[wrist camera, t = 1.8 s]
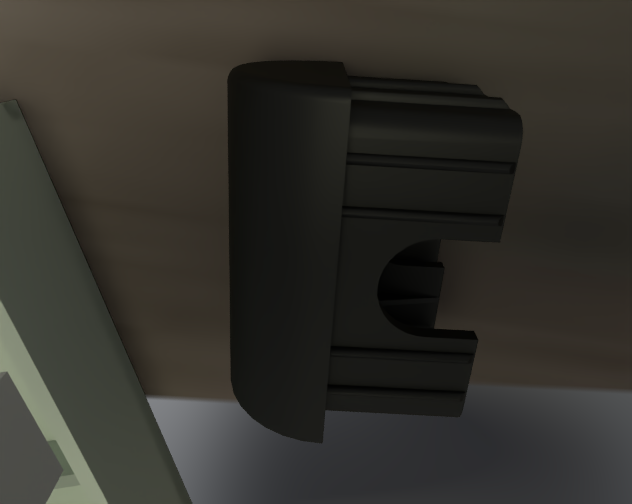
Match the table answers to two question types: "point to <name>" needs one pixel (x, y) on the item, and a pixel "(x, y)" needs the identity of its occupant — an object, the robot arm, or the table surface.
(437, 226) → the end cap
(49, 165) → the table surface
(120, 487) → the organizer tray
